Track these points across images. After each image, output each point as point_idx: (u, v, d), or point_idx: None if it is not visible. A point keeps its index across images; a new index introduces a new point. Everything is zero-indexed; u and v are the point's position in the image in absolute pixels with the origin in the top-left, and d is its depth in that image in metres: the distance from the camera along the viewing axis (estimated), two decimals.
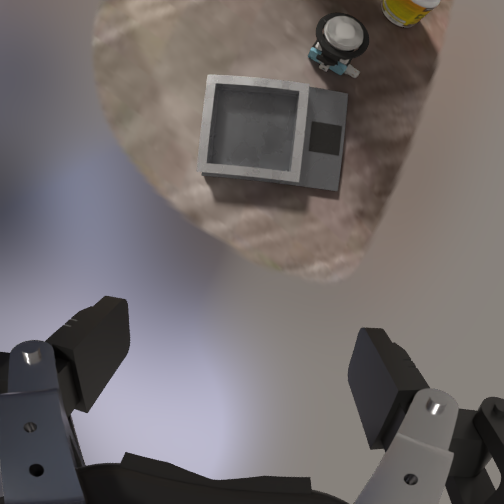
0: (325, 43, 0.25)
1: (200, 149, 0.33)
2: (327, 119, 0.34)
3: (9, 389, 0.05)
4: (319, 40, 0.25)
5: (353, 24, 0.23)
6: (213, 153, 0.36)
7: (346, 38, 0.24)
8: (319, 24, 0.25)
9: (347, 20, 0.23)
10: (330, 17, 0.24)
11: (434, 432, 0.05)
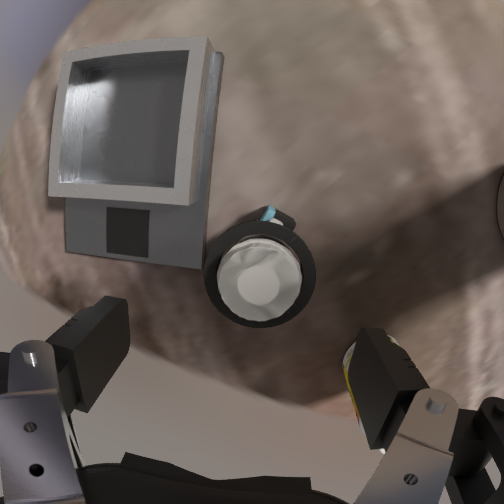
0: (231, 239, 0.15)
1: (89, 49, 0.17)
2: (154, 234, 0.23)
3: (9, 389, 0.05)
4: (237, 227, 0.15)
5: (279, 303, 0.14)
6: (104, 71, 0.20)
7: (238, 285, 0.14)
8: (279, 229, 0.15)
9: (287, 291, 0.14)
10: (301, 254, 0.15)
11: (434, 431, 0.05)
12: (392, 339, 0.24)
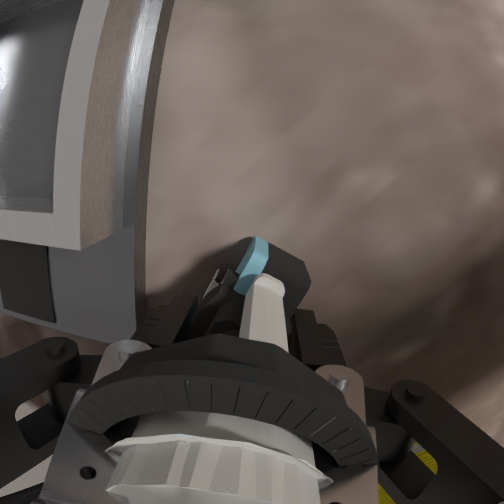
0: (113, 412, 0.04)
1: None
2: (58, 287, 0.12)
3: None
4: (125, 382, 0.04)
5: None
6: (1, 25, 0.09)
7: None
8: (278, 400, 0.03)
9: None
10: (345, 454, 0.04)
11: None
12: None
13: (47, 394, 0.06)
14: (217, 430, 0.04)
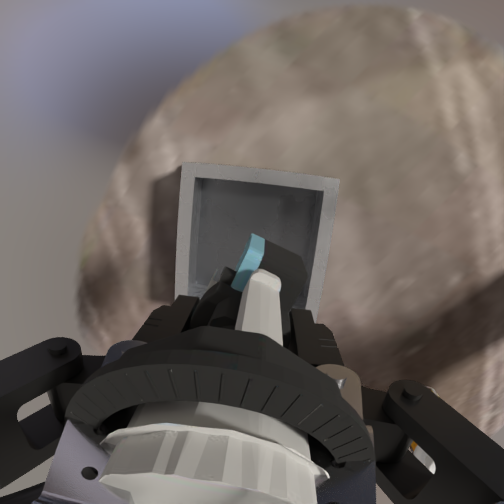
0: (105, 405, 0.04)
1: (216, 167, 0.22)
2: None
3: None
4: (114, 374, 0.04)
5: None
6: (217, 179, 0.25)
7: None
8: (261, 387, 0.04)
9: None
10: (337, 443, 0.04)
11: None
12: (432, 390, 0.29)
13: (50, 395, 0.06)
14: (204, 419, 0.04)
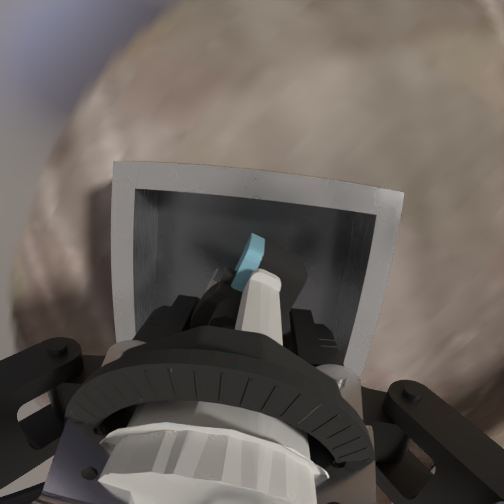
0: (105, 404, 0.04)
1: (172, 168, 0.11)
2: None
3: None
4: (114, 373, 0.04)
5: None
6: None
7: None
8: (261, 387, 0.04)
9: None
10: (337, 443, 0.04)
11: None
12: None
13: (50, 395, 0.06)
14: (204, 419, 0.04)
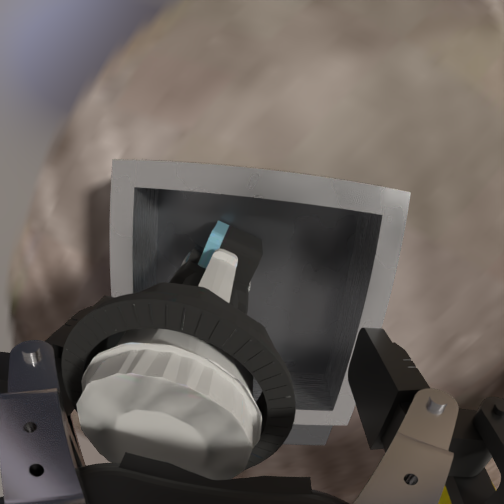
0: (91, 338, 0.06)
1: (173, 167, 0.11)
2: None
3: (9, 389, 0.05)
4: (97, 312, 0.06)
5: (214, 470, 0.05)
6: None
7: (118, 439, 0.05)
8: (192, 315, 0.05)
9: (226, 454, 0.05)
10: (255, 366, 0.06)
11: (433, 432, 0.05)
12: None
13: None
14: (157, 342, 0.06)
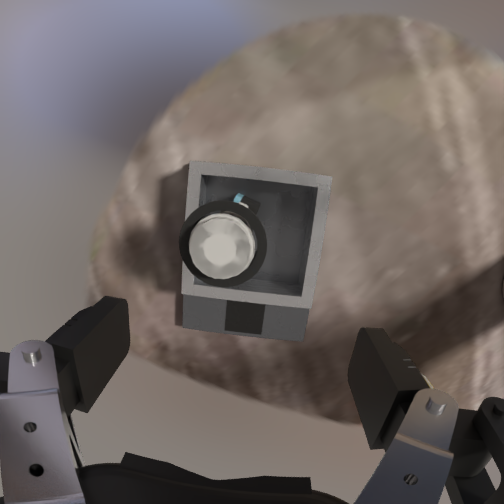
0: (197, 216, 0.19)
1: (220, 165, 0.24)
2: (268, 318, 0.30)
3: (9, 389, 0.05)
4: (201, 206, 0.19)
5: (237, 263, 0.18)
6: (221, 176, 0.27)
7: (204, 251, 0.18)
8: (233, 205, 0.19)
9: (242, 253, 0.18)
10: (252, 223, 0.19)
11: (434, 431, 0.05)
12: (424, 377, 0.32)
13: None
14: None
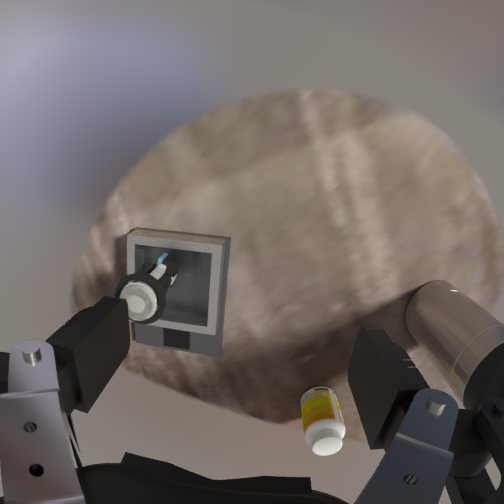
0: (124, 283, 0.30)
1: (146, 238, 0.35)
2: (193, 338, 0.41)
3: (9, 389, 0.05)
4: (125, 277, 0.29)
5: (146, 312, 0.29)
6: None
7: None
8: (143, 277, 0.29)
9: (148, 306, 0.29)
10: (155, 288, 0.29)
11: (433, 432, 0.05)
12: (329, 390, 0.42)
13: None
14: (137, 283, 0.29)
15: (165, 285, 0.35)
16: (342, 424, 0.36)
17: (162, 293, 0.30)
